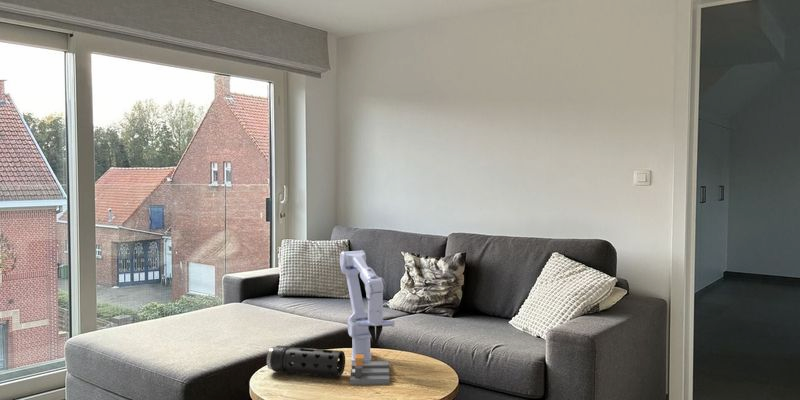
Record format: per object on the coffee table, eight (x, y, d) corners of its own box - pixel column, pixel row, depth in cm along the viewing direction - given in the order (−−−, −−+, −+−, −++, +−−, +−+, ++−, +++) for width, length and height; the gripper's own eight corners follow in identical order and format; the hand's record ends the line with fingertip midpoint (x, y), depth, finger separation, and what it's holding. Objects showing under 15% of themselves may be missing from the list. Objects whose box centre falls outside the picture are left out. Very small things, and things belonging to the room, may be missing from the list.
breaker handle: (355, 367, 227) (355, 354, 227) (363, 367, 227) (363, 354, 227) (355, 371, 223) (354, 358, 223) (363, 371, 223) (363, 357, 223)
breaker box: (352, 366, 235) (352, 352, 235) (388, 366, 235) (388, 352, 235) (350, 384, 215) (349, 369, 215) (389, 384, 215) (389, 369, 215)
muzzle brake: (336, 382, 218) (336, 354, 217) (265, 376, 225) (265, 349, 224) (345, 374, 227) (345, 346, 227) (277, 368, 234) (276, 342, 233)
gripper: (355, 312, 226) (356, 348, 227) (394, 312, 226) (394, 348, 227) (356, 308, 233) (356, 343, 234) (394, 307, 233) (394, 342, 234)
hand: (375, 345), depth 231 cm, fingers closed
